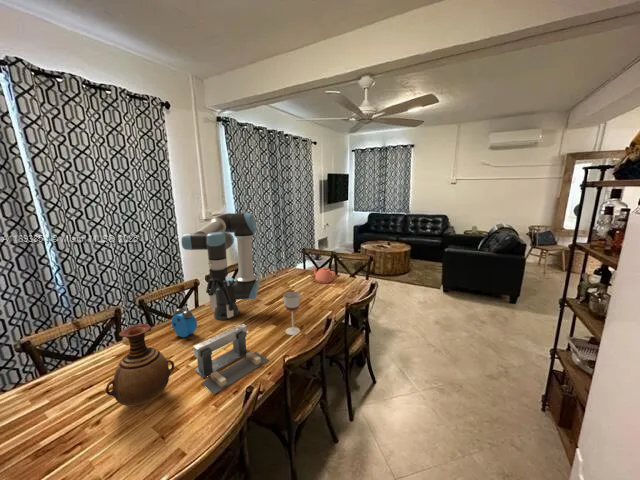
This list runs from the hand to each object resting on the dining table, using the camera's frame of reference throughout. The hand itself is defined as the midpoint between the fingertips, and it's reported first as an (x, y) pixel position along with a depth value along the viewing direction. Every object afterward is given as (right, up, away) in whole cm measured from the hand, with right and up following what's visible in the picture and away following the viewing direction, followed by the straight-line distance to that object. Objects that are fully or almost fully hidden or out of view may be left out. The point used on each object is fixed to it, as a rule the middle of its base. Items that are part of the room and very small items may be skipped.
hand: (221, 312), depth 125 cm
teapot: (+48, -2, +110) cm, 120 cm away
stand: (-1, -24, +5) cm, 25 cm away
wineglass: (+29, -19, +31) cm, 47 cm away
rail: (-1, -16, +3) cm, 16 cm away
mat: (+8, -26, -2) cm, 27 cm away
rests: (+8, -26, -2) cm, 27 cm away
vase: (-23, -29, -18) cm, 42 cm away
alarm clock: (-30, -20, +27) cm, 45 cm away
